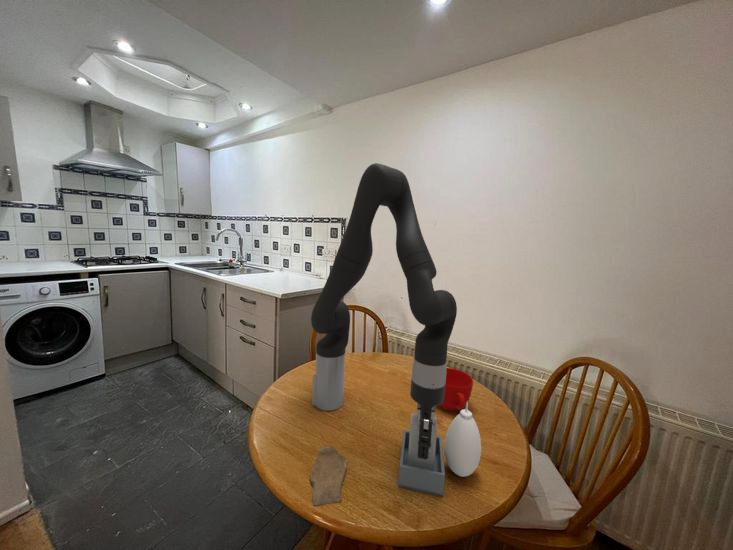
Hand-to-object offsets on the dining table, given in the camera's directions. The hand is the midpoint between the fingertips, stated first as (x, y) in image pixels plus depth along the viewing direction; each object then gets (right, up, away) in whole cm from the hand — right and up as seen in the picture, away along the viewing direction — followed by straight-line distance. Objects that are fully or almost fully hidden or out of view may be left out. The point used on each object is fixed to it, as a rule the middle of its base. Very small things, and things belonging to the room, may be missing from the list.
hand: (422, 443), depth 65 cm
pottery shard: (-22, -7, -1) cm, 23 cm away
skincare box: (0, -6, +1) cm, 6 cm away
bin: (0, -7, +1) cm, 7 cm away
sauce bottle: (+9, -7, +1) cm, 12 cm away
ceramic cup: (+14, -4, +26) cm, 30 cm away
